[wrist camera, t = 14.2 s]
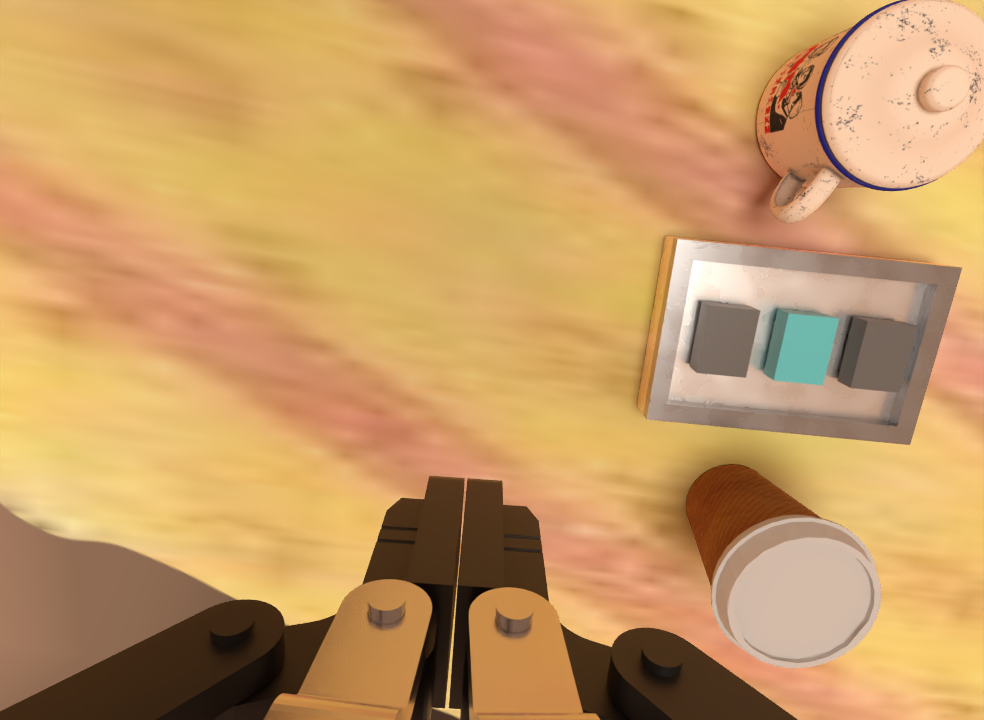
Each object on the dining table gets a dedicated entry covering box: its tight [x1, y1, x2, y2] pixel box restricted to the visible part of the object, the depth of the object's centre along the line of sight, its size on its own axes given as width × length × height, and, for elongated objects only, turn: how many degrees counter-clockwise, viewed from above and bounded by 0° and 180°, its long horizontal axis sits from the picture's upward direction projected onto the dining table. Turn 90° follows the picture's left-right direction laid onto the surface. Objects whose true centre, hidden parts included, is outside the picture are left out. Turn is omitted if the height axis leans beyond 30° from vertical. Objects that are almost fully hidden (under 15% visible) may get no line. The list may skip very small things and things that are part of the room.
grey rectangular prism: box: [689, 301, 760, 378], centre depth 40 cm, size 4×3×2 cm
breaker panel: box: [637, 236, 962, 445], centre depth 41 cm, size 12×18×3 cm, turn 84°
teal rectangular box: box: [763, 309, 839, 385], centre depth 40 cm, size 4×3×2 cm
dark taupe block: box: [837, 317, 918, 393], centre depth 40 cm, size 4×3×2 cm
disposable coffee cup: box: [686, 464, 881, 668], centre depth 40 cm, size 10×10×12 cm
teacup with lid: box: [757, 0, 984, 224], centre depth 34 cm, size 12×9×12 cm
